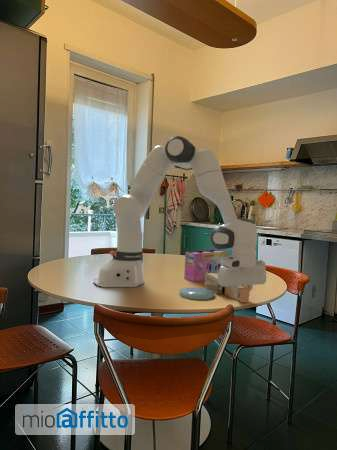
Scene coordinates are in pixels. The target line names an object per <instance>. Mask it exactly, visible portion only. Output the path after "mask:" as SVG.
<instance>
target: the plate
mask: <svg viewBox="0 0 337 450" xmlns="http://www.w3.org/2000/svg"><path fill="white" fill-rule="evenodd" d="M178 291H179V293H178V294H179V296H180V297H182V298H185V299H189V300H194V301H208V300H211V299H214V298H215V293H214V292H213V291H211V290H208V289H205V287H204V288H203V287H196V286H195V287H189V286H188V287H184V288H180V289H179V290H178Z"/></svg>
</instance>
